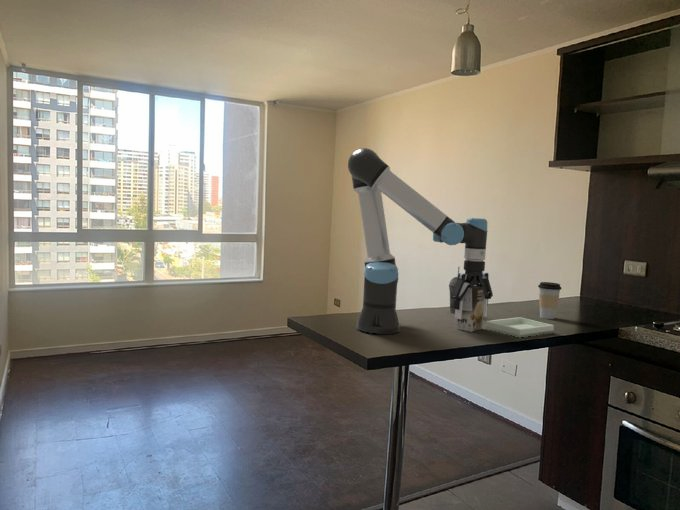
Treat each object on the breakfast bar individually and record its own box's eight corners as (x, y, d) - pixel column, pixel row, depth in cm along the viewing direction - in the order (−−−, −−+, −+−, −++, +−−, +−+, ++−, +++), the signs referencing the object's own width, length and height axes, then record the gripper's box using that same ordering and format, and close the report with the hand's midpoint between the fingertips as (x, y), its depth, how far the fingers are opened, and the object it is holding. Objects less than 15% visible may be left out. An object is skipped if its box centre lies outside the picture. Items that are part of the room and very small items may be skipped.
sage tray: (519, 338, 180) (520, 329, 180) (485, 328, 193) (486, 321, 193) (553, 333, 192) (554, 325, 191) (519, 324, 204) (519, 317, 204)
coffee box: (472, 332, 186) (475, 288, 185) (456, 329, 190) (459, 286, 189) (482, 328, 193) (486, 286, 192) (467, 325, 197) (470, 284, 196)
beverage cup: (446, 313, 220) (449, 266, 219) (447, 310, 227) (450, 265, 226) (463, 314, 218) (466, 268, 217) (464, 312, 225) (467, 266, 223)
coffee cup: (554, 316, 226) (557, 282, 225) (561, 320, 217) (565, 285, 215) (532, 314, 227) (535, 281, 226) (538, 319, 218) (541, 284, 216)
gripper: (458, 261, 179) (454, 321, 181) (504, 260, 193) (500, 316, 195) (443, 259, 185) (439, 317, 187) (489, 258, 199) (485, 312, 201)
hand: (470, 317), depth 191 cm, fingers open, 13 cm apart
